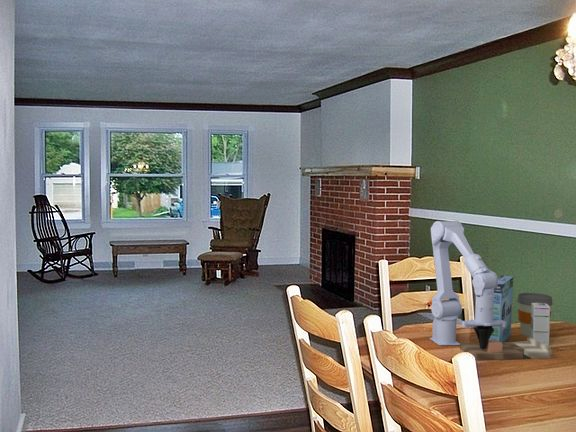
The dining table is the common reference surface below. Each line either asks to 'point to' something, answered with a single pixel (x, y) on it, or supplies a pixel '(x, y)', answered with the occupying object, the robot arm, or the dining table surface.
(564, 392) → the dining table surface
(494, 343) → the block
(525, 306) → the reusable coffee cup
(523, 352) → the board
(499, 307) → the gum box
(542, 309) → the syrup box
